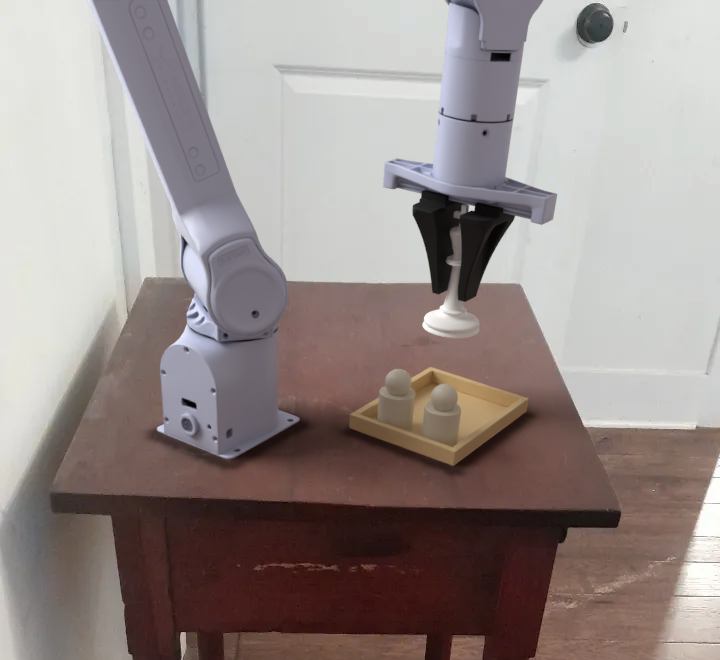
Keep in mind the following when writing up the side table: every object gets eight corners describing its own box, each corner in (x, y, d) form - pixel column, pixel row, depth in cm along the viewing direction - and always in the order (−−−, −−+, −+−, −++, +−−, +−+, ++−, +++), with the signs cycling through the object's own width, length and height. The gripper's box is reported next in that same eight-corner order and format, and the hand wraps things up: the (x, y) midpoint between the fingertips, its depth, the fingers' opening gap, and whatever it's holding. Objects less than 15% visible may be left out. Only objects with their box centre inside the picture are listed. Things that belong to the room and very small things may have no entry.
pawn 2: (445, 454, 80) (452, 396, 77) (414, 443, 82) (420, 385, 78) (463, 441, 82) (471, 384, 79) (432, 431, 84) (439, 374, 80)
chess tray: (452, 470, 79) (455, 451, 78) (348, 432, 83) (349, 414, 82) (525, 415, 88) (529, 398, 87) (428, 383, 92) (430, 366, 91)
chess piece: (460, 343, 82) (475, 217, 76) (411, 327, 84) (422, 204, 78) (490, 327, 85) (507, 206, 79) (442, 313, 87) (455, 193, 81)
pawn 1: (399, 438, 82) (405, 380, 79) (369, 427, 83) (374, 370, 80) (418, 426, 84) (424, 369, 81) (389, 415, 85) (393, 359, 82)
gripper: (585, 124, 74) (552, 303, 83) (421, 93, 80) (406, 263, 89) (545, 138, 70) (514, 326, 78) (373, 104, 75) (362, 282, 84)
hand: (454, 294), depth 83 cm, fingers closed on chess piece
